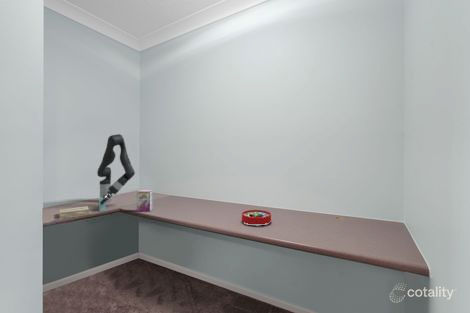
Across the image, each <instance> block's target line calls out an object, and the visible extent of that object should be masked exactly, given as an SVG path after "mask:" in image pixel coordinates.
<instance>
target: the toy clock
mask: <svg viewBox="0 0 470 313" xmlns="http://www.w3.org/2000/svg"><path fill="white" fill-rule="evenodd" d="M242 221H243V222H245V223H248V224H265V223H269V222H270V221H271V222H272V213H271V212H269V211H266V210H261V209H249V210H244V211H242V212H241V222H242Z"/></svg>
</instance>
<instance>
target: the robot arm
mask: <svg viewBox="0 0 470 313" xmlns="http://www.w3.org/2000/svg"><path fill="white" fill-rule="evenodd" d="M115 146H119V148H120V153H119V161H120V164H121V166H122V167H123V170H124V172H125V173H124V174H122V175H121V176H120V177H119V178H118V179H116V180H115V181H114V182H113V183H112V181H111V180H112V169H111V167H109V166H110V165H111V164H113V162H114V161H115V158H116V153H115V150H114V148H115ZM135 173H136V172H135V170H134V167H133V166H132V163H131V161H130V158H129V154H128V152H127V147H126V142H125V140H124V137H123V135H122V134H119V133H118V134H113V135H112V134H111V135H110V136H109V137H108V139H107V143H106V149H105V150H104V154H103V156H102V160H101V163H99V166H98V168H97V172H96V174H97V176H98V178H104V179H102V180H100V181H99V198H103V197H105V198H104V199H103V200H102V201H101V202H100V204H103V203H104V202H105V201H106V203H110V202H111V201H112V199H111V198H112V197H113V195H116V194H118V193H119V191H120V190H121V189H123V187H124V186H125V185H126V184H127V183H128V181H130V180H131V179H132V178H133V177H134V176H135Z"/></svg>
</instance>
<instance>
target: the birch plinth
mask: <svg viewBox="0 0 470 313" xmlns="http://www.w3.org/2000/svg"><path fill="white" fill-rule="evenodd" d="M88 215H90V209H89V206H88V205H84V206H76V207H68V208H60V209H59V219H60V218H61V219H68V218H74V217H80V216H81V217H82V216H88Z"/></svg>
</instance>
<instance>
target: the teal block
mask: <svg viewBox="0 0 470 313" xmlns="http://www.w3.org/2000/svg"><path fill="white" fill-rule="evenodd" d="M104 198H105V197H103V198H100V197H98V210H99V212H102V211H106V210H107V206H106V205H107V202H106V201H105V202H104V203H103V204H100V202H101V201H102V200H103V199H104Z"/></svg>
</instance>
